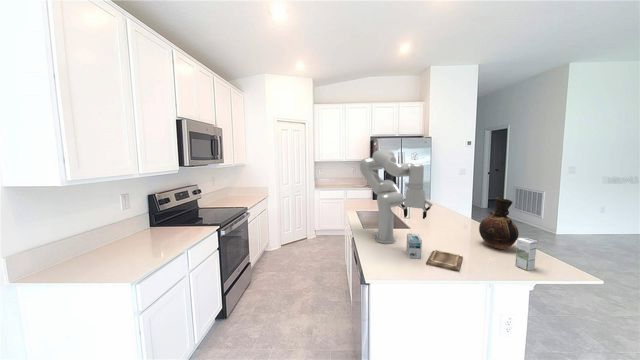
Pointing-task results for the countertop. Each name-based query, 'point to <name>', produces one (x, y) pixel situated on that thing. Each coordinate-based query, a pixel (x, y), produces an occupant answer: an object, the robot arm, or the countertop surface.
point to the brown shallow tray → (445, 260)
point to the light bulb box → (414, 246)
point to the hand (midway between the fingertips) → (414, 217)
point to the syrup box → (526, 253)
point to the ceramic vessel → (499, 226)
